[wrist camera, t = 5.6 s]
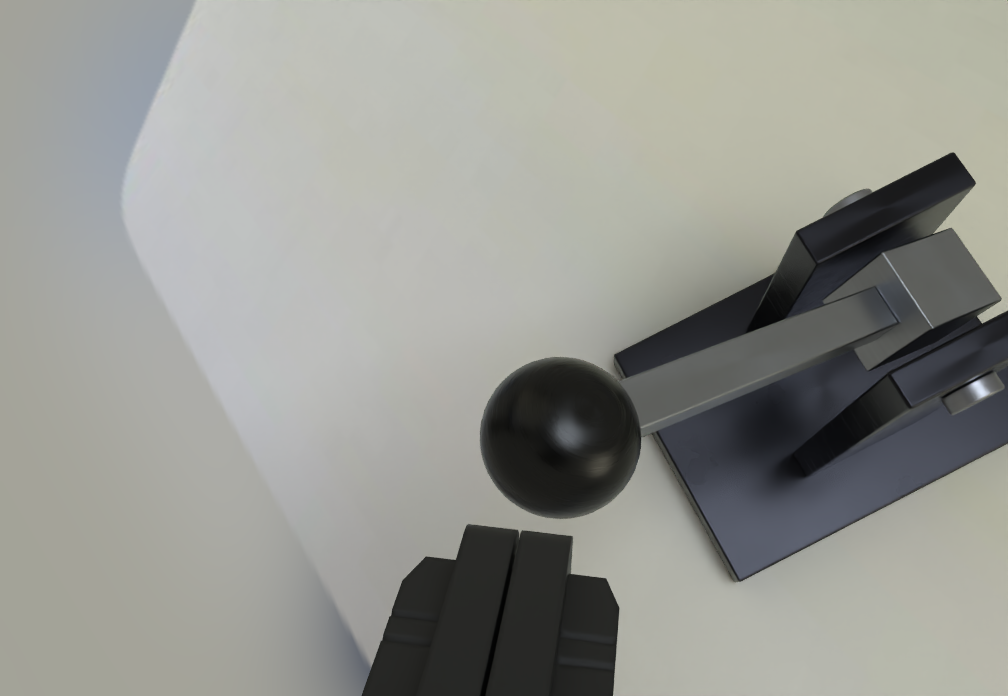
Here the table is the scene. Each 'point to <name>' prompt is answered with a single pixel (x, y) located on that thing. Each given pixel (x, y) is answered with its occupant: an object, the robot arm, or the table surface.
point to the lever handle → (712, 377)
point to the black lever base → (832, 392)
